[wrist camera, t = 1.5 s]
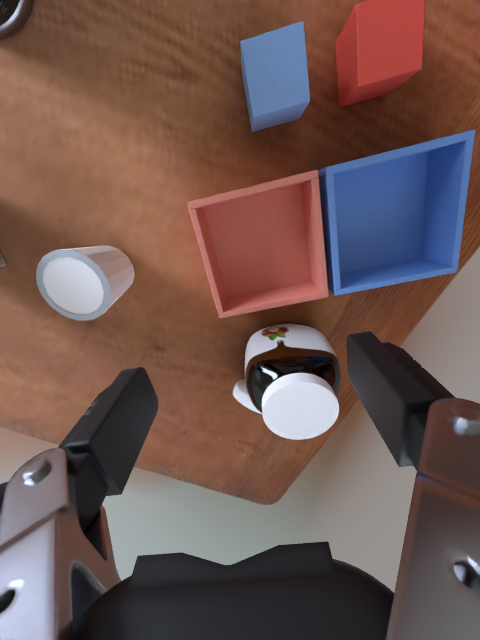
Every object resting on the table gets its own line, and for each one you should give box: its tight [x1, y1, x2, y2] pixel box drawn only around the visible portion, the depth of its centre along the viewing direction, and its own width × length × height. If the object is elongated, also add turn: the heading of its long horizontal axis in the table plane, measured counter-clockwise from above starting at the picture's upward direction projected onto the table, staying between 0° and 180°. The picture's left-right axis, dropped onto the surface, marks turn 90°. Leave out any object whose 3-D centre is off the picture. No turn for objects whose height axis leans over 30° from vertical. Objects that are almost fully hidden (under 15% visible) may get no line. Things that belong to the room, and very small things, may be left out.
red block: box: [336, 0, 425, 108], centre depth 20 cm, size 4×4×4 cm
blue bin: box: [318, 129, 475, 296], centre depth 24 cm, size 11×11×5 cm
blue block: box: [240, 21, 310, 132], centre depth 21 cm, size 4×4×4 cm
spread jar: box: [233, 323, 341, 440], centre depth 29 cm, size 12×11×12 cm
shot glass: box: [36, 245, 135, 320], centre depth 26 cm, size 7×7×7 cm
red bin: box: [187, 169, 329, 318], centre depth 26 cm, size 11×11×5 cm
